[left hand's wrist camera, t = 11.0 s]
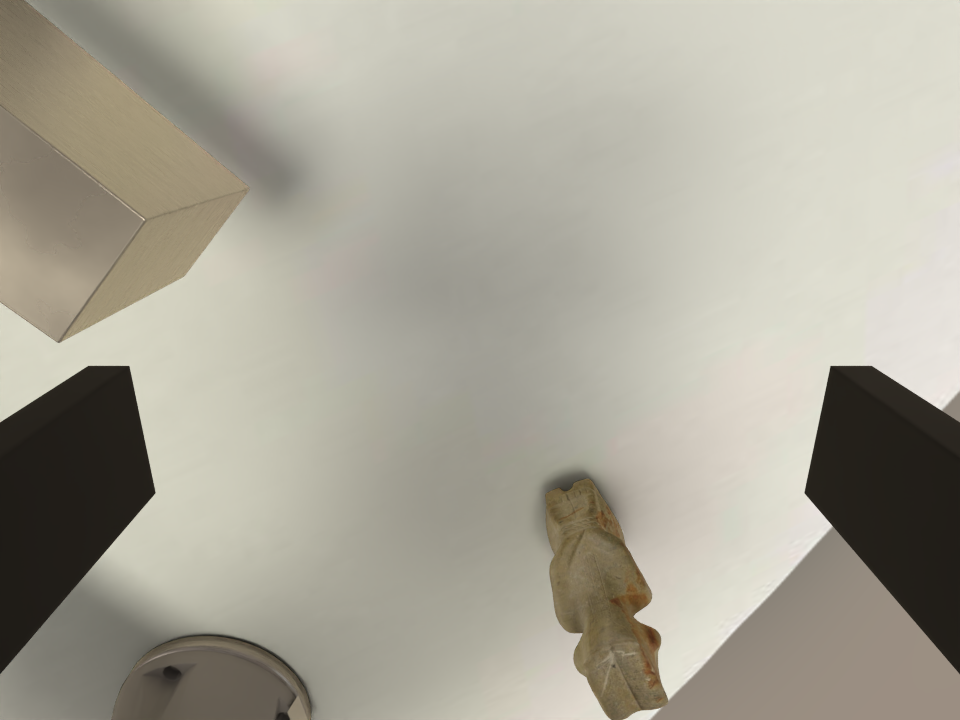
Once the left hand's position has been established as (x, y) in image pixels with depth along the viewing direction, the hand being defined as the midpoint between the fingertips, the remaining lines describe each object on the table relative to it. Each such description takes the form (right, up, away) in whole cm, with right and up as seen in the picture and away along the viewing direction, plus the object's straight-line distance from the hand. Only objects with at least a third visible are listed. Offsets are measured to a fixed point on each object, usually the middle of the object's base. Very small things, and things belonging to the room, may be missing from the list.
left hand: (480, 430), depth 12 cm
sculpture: (+7, -10, +35) cm, 37 cm away
